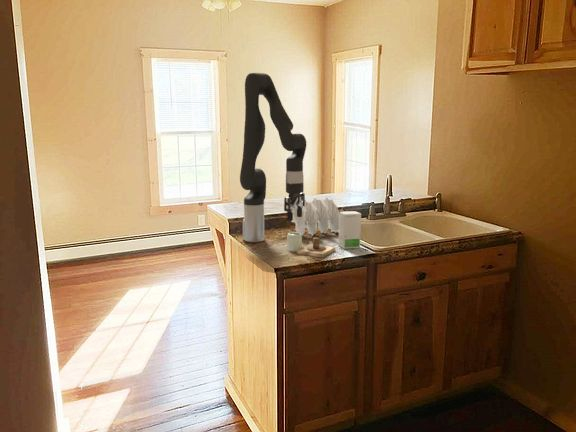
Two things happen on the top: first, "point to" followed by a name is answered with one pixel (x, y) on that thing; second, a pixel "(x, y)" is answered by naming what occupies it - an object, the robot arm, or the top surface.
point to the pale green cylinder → (294, 241)
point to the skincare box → (349, 229)
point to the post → (316, 249)
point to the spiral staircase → (317, 217)
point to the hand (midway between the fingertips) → (294, 218)
